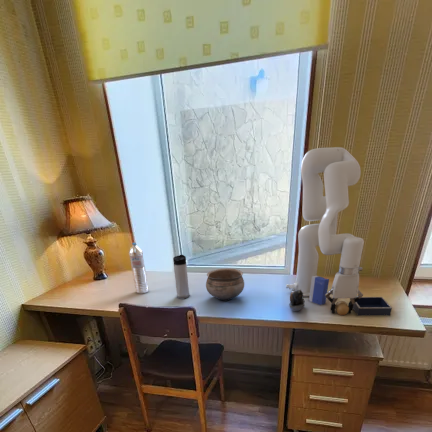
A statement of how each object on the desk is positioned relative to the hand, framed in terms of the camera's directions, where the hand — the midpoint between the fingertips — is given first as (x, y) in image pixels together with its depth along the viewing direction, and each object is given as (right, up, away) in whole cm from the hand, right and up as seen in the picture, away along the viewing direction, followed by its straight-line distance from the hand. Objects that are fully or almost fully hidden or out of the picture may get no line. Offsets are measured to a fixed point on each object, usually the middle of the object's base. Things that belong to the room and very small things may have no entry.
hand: (340, 311), depth 144 cm
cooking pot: (-50, +11, +22) cm, 56 cm away
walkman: (-7, +7, +12) cm, 15 cm away
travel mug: (-72, +13, +26) cm, 77 cm away
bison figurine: (-20, +41, +13) cm, 47 cm away
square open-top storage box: (+13, +1, +2) cm, 13 cm away
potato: (0, -1, 0) cm, 1 cm away
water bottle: (-95, +18, +35) cm, 103 cm away
